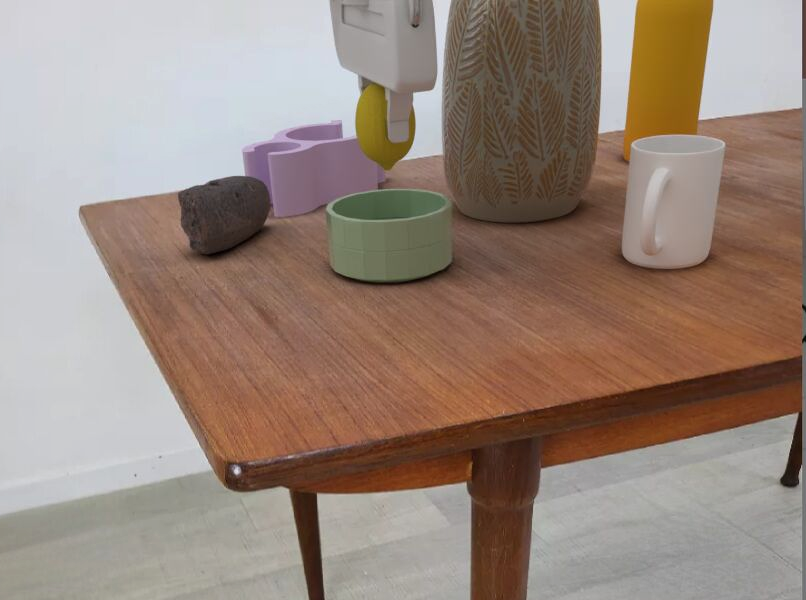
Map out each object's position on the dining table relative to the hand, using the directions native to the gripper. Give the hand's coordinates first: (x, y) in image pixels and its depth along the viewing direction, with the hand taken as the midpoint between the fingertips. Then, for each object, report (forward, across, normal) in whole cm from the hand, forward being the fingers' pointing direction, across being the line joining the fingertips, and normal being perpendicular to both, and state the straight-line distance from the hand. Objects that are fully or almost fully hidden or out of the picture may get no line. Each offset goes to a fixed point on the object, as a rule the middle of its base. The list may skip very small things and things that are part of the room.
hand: (386, 134), depth 87 cm
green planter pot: (+12, 0, 0) cm, 12 cm away
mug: (+12, -10, -24) cm, 29 cm away
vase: (+12, +14, -19) cm, 27 cm away
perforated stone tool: (+12, +16, +14) cm, 24 cm away
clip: (+12, +32, +1) cm, 34 cm away
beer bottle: (+12, +28, -45) cm, 55 cm away
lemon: (+3, 0, 0) cm, 3 cm away
